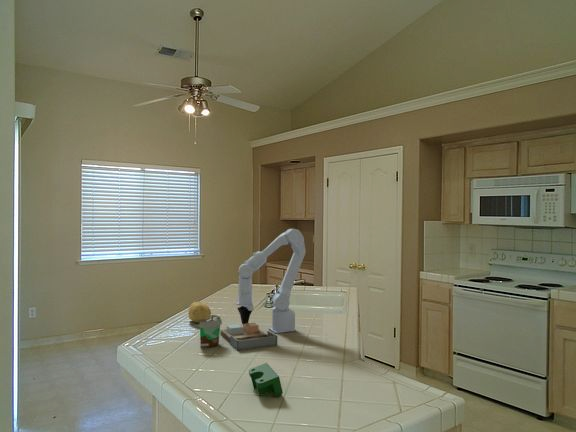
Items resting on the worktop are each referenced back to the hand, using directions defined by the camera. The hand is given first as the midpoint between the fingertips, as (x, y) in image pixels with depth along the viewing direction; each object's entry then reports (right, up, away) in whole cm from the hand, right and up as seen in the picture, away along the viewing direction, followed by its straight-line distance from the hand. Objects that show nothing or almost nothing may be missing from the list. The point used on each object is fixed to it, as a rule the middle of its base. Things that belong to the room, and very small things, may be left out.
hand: (244, 324), depth 179 cm
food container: (-10, -3, -19) cm, 22 cm away
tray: (+5, -3, -19) cm, 20 cm away
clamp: (+12, -3, -61) cm, 62 cm away
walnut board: (0, -3, -8) cm, 9 cm away
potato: (-22, -3, +15) cm, 27 cm away
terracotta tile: (+3, -1, -6) cm, 7 cm away
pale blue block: (-3, -1, -9) cm, 10 cm away
